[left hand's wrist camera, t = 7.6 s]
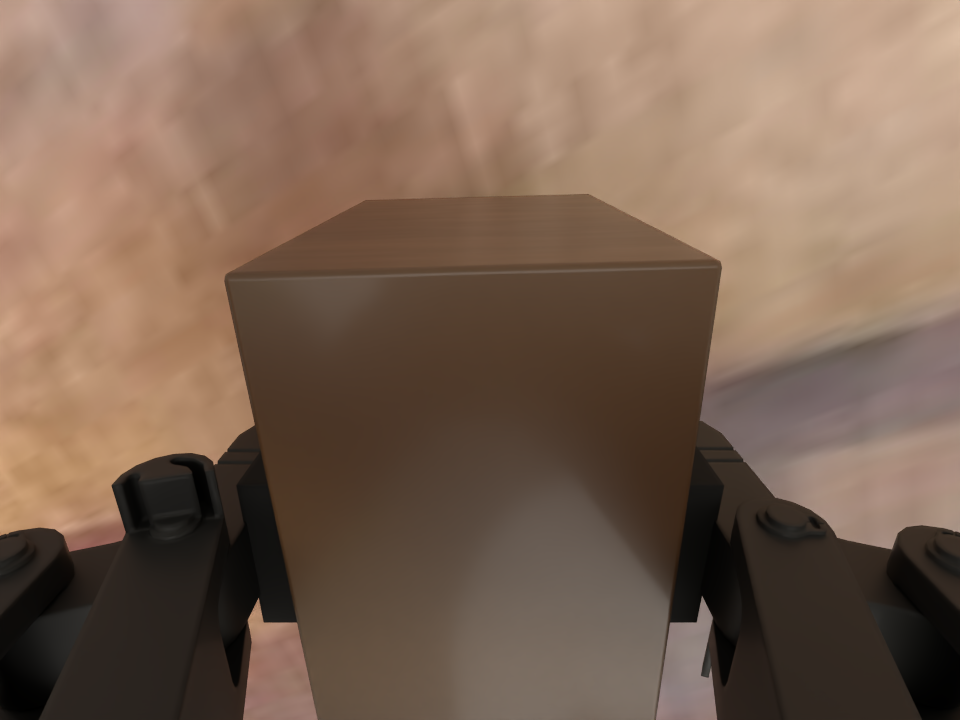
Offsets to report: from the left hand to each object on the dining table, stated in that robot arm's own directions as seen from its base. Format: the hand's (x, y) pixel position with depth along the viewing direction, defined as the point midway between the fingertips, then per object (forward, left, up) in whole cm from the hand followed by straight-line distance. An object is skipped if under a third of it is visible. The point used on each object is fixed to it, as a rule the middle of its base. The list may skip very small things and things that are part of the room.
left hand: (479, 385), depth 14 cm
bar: (-28, +13, -1) cm, 31 cm away
